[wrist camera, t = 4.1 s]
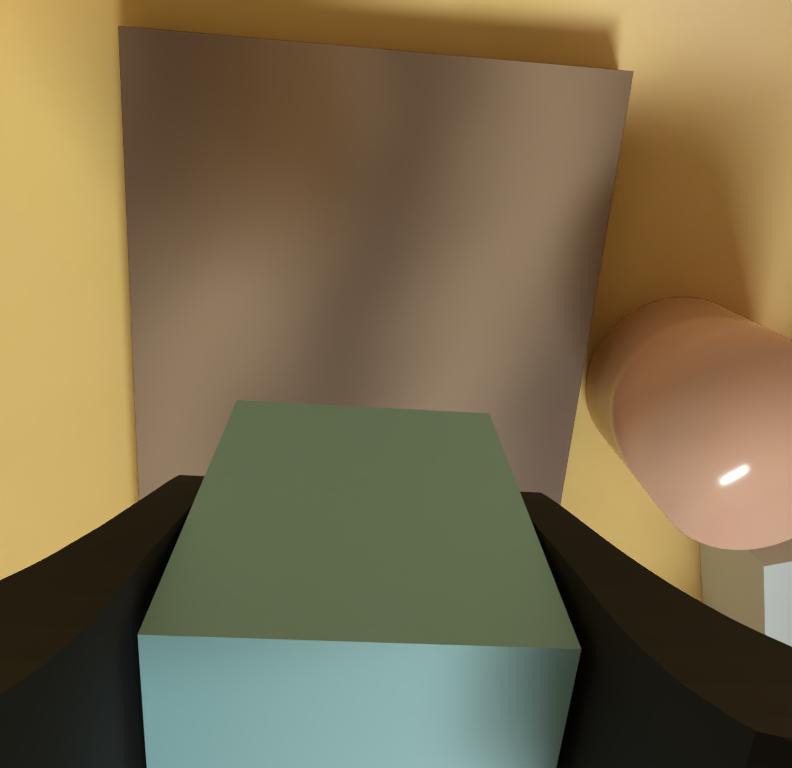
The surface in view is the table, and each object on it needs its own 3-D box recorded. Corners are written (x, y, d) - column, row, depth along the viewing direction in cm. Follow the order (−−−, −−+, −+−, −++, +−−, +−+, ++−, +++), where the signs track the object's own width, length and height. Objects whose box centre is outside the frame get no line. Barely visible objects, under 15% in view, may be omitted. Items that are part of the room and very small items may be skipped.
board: (619, 74, 18) (633, 71, 17) (531, 610, 23) (539, 630, 22) (131, 31, 17) (118, 25, 16) (153, 596, 23) (144, 616, 22)
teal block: (489, 413, 13) (580, 649, 7) (462, 615, 15) (521, 933, 9) (237, 399, 13) (138, 634, 7) (238, 608, 14) (158, 930, 9)
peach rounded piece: (775, 302, 20) (898, 354, 16) (734, 463, 22) (835, 554, 17) (601, 291, 20) (674, 340, 15) (573, 455, 22) (631, 545, 17)
